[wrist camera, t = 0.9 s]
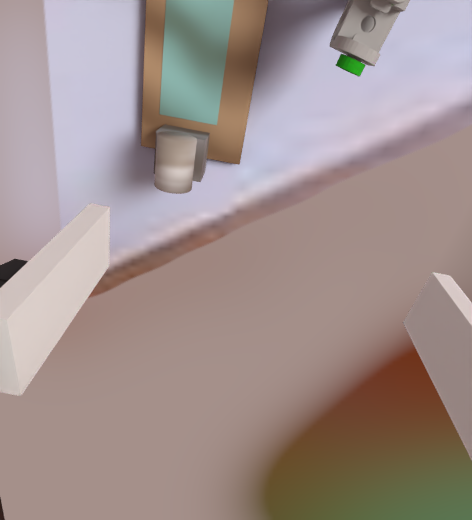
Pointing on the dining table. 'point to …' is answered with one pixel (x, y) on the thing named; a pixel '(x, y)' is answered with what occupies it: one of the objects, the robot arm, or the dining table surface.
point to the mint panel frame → (198, 84)
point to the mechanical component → (364, 31)
